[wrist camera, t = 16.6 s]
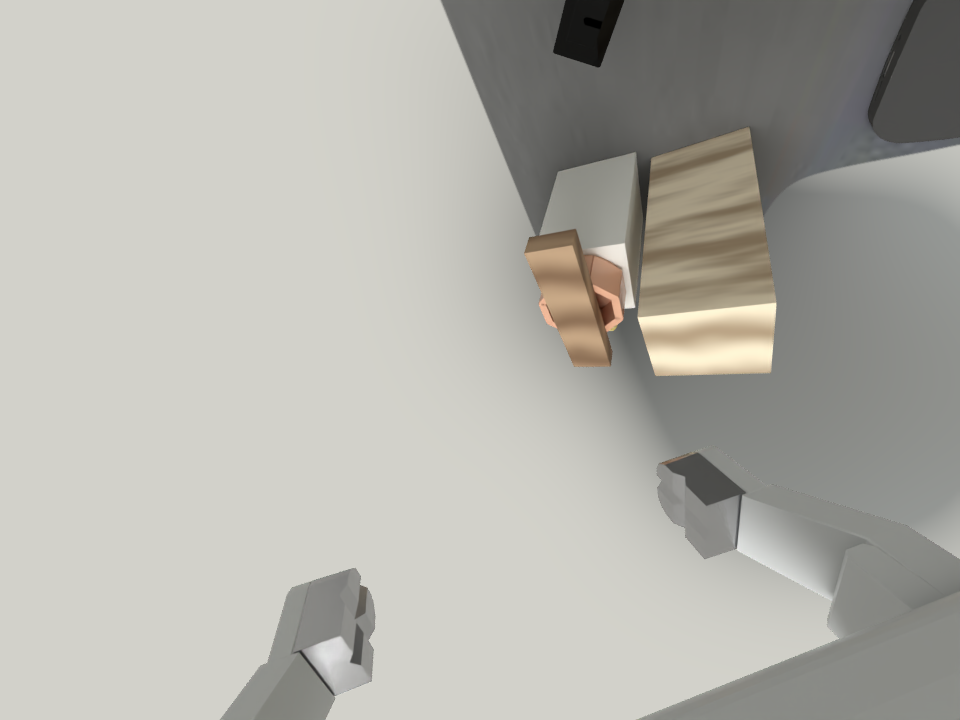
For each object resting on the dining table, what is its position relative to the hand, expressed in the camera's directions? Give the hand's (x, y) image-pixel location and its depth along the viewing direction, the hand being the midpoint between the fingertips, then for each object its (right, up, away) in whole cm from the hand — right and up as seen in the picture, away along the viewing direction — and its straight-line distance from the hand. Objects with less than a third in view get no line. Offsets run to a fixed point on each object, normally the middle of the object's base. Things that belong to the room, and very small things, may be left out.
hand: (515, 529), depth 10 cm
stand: (+27, +27, +38) cm, 54 cm away
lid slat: (+10, +11, +32) cm, 35 cm away
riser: (+16, +28, +43) cm, 54 cm away
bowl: (+12, +14, +35) cm, 39 cm away
